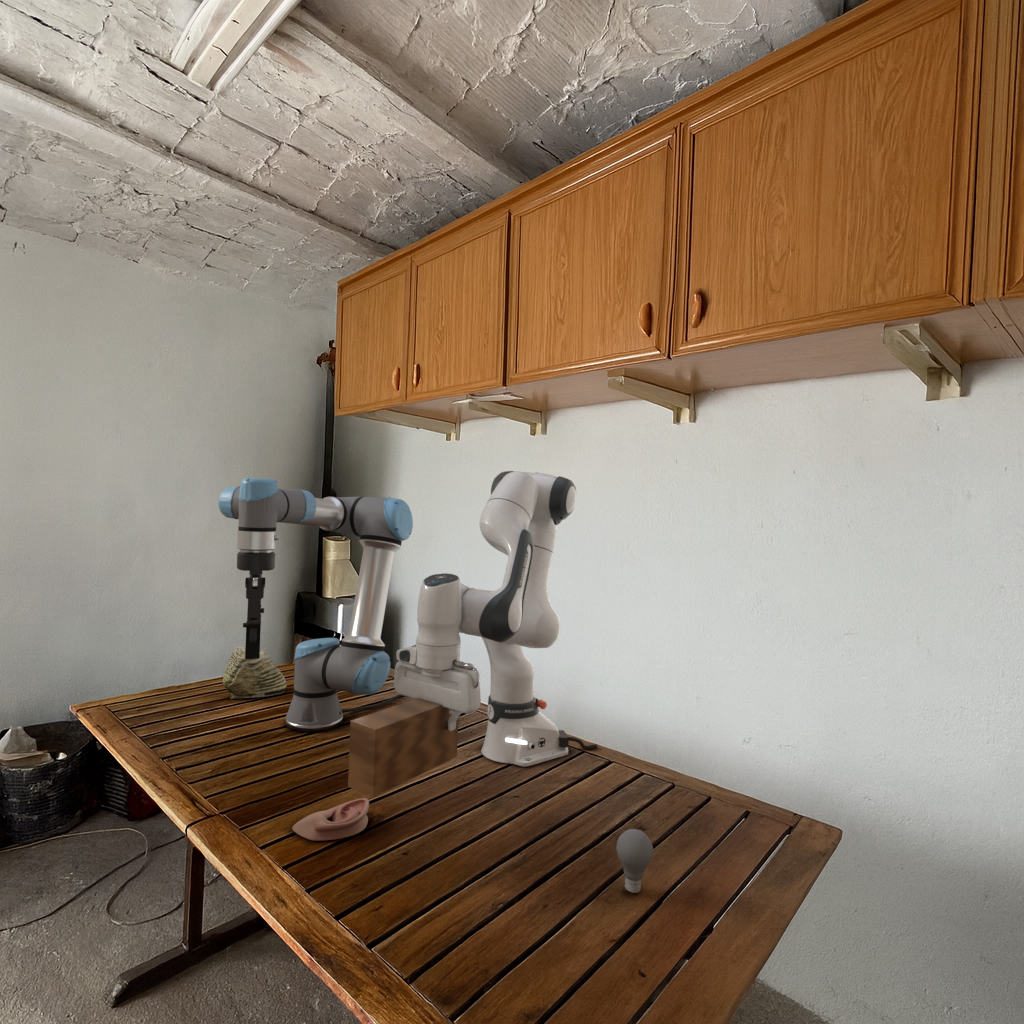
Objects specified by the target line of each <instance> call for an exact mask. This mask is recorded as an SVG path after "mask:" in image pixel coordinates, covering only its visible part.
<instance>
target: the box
mask: <svg viewBox="0 0 1024 1024" xmlns="http://www.w3.org/2000/svg"><path fill="white" fill-rule="evenodd" d="M450 716H451V714H449V709H448V708H445V707H443V706H442V705H441V704H438V703H434V702H431V701H427V700H424V699H420V698H416V699H414V700H411V699H410V700H408V701H405V702H402V703H398V704H396V705H393V706H389V707H387V708H385V709H384V708H383V709H381V710H378V711H376V712H372V713H369V714H367V715H363V716H360V717H358V718H355V719H352V720H350V722H349V723H350V726H349V747H348V749H349V751H348V776H347V778H348V779H347V788H350V789H352V790H355V791H357V792H360V793H361V794H364V795H367V796H369V797H371V798H375V797H377V796H380V795H381V794H384V793H385V792H387V791H390V790H391V789H394V788H396V787H398V786H400V785H402V784H404V783H406V782H408V781H410V780H413V779H414V778H416V777H418V776H421V775H422V774H424V773H427V772H429V771H431V770H433V769H435V768H437V767H439V766H441V765H443V764H446V763H448V762H449V761H452V760H453V759H456V758H457V757H458V740H459V739H458V738H459V736H458V735H459V718H458V719H457V720H456V728H455V730H453V731H449V730H446V729H445V728H444V727H445V721H446V720H449V718H450Z"/></svg>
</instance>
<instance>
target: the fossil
mask: <svg viewBox="0 0 1024 1024" xmlns="http://www.w3.org/2000/svg"><path fill="white" fill-rule="evenodd" d="M245 647H246V646H238V647H237V648H236V649H235V650H233V651H232V653H231V656H230V657H229V659H228V660H227V663H226V666H225V668H224V671H223V675H222V676H223V677H222V685H223V687H224V688H225V690H226V691H228V693H229V698H230V699H250V698H264V697H271V696H275V695H281V694H284V693H285V691H286V689H287V687H288V686H287V680H286V678H285V676H284V674H283V673H282V672H281V669H279V668H278V667H277V665H276V663H275V662H274V660H273V659H272V658H271V657H270V656H269V655H268V654H267V653H266V652H265V650H264V649H263V648H261V647H260V658H259V659H245Z"/></svg>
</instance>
